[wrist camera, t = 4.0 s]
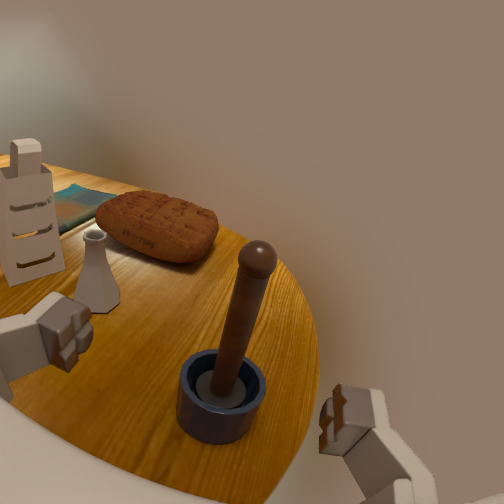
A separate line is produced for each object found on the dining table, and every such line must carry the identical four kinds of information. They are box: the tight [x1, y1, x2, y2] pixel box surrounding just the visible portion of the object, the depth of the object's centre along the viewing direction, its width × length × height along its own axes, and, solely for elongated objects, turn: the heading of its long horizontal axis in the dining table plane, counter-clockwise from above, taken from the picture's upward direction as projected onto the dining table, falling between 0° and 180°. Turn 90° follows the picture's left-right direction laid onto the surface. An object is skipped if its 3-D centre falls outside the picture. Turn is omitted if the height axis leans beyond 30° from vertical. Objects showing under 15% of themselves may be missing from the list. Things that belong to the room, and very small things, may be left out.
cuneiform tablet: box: [95, 190, 219, 263], centre depth 57 cm, size 22×17×8 cm
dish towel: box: [34, 183, 117, 234], centre depth 61 cm, size 17×23×2 cm
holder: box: [176, 349, 266, 444], centre depth 27 cm, size 8×8×6 cm
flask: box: [73, 230, 120, 313], centre depth 37 cm, size 7×7×10 cm
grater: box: [0, 138, 66, 287], centre depth 37 cm, size 10×10×20 cm
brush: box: [194, 240, 277, 409], centre depth 24 cm, size 5×5×19 cm
